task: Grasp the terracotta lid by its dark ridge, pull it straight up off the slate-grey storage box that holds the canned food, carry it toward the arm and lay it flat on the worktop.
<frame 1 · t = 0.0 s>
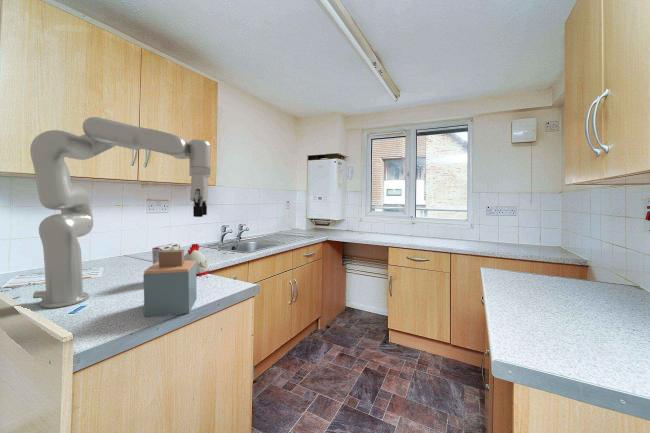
hand: (200, 215, 106), 31 cm above the countertop, tool pointing down, fingers open, 9 cm apart
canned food: (172, 307, 94), resting in box
kitchen timer: (193, 273, 134), on the countertop
lid: (172, 268, 93), point 14 cm above the countertop, touching box
box: (172, 307, 94), on the countertop
candy bar box: (167, 281, 121), on the countertop
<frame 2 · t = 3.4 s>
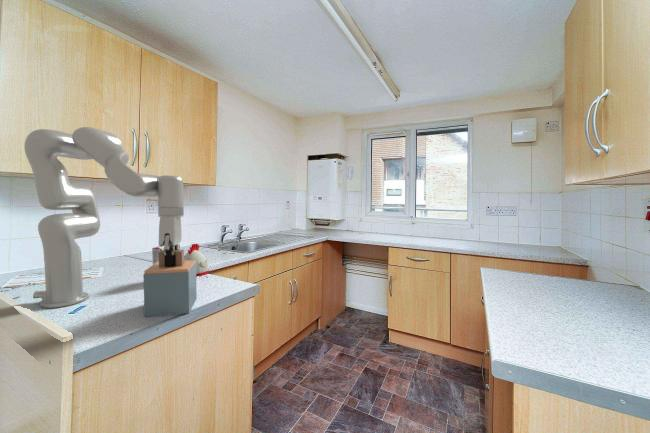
hand: (172, 264, 93), 15 cm above the countertop, tool pointing down, fingers closed on lid, 3 cm apart
lid: (172, 268, 93), point 14 cm above the countertop, touching box, gripper
everything else where it was.
when the fingers open (4 cm above the countertop, at t = 11.0 s): lid drops 2 cm, point 1 cm above the countertop.
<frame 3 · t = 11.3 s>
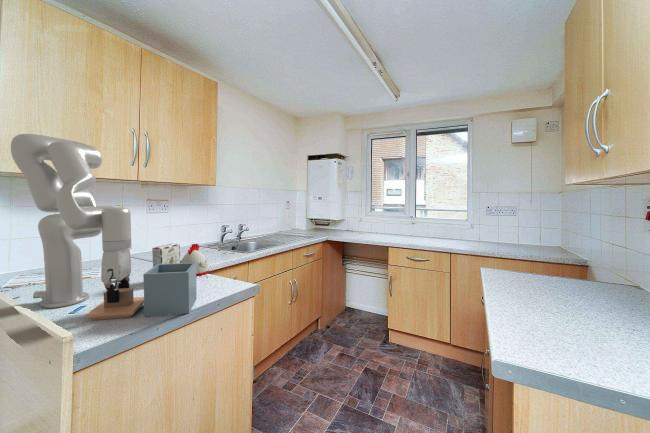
hand: (118, 297, 89), 5 cm above the countertop, tool pointing down, fingers open, 6 cm apart
lid: (119, 307, 89), point 1 cm above the countertop
everything else where it was.
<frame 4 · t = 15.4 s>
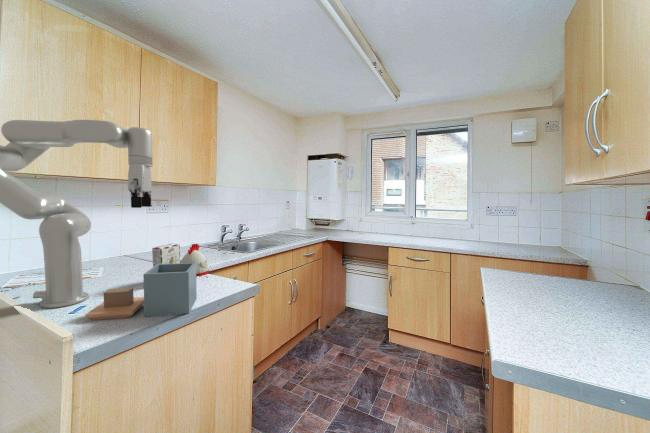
hand: (141, 207, 102), 34 cm above the countertop, tool pointing down, fingers open, 9 cm apart
nothing on the countertop moved.
at the end: lid inside the target area (0.1 cm from its centre), point 1.2 cm above the countertop; lid tilted 0°; the gripper is holding nothing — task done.
